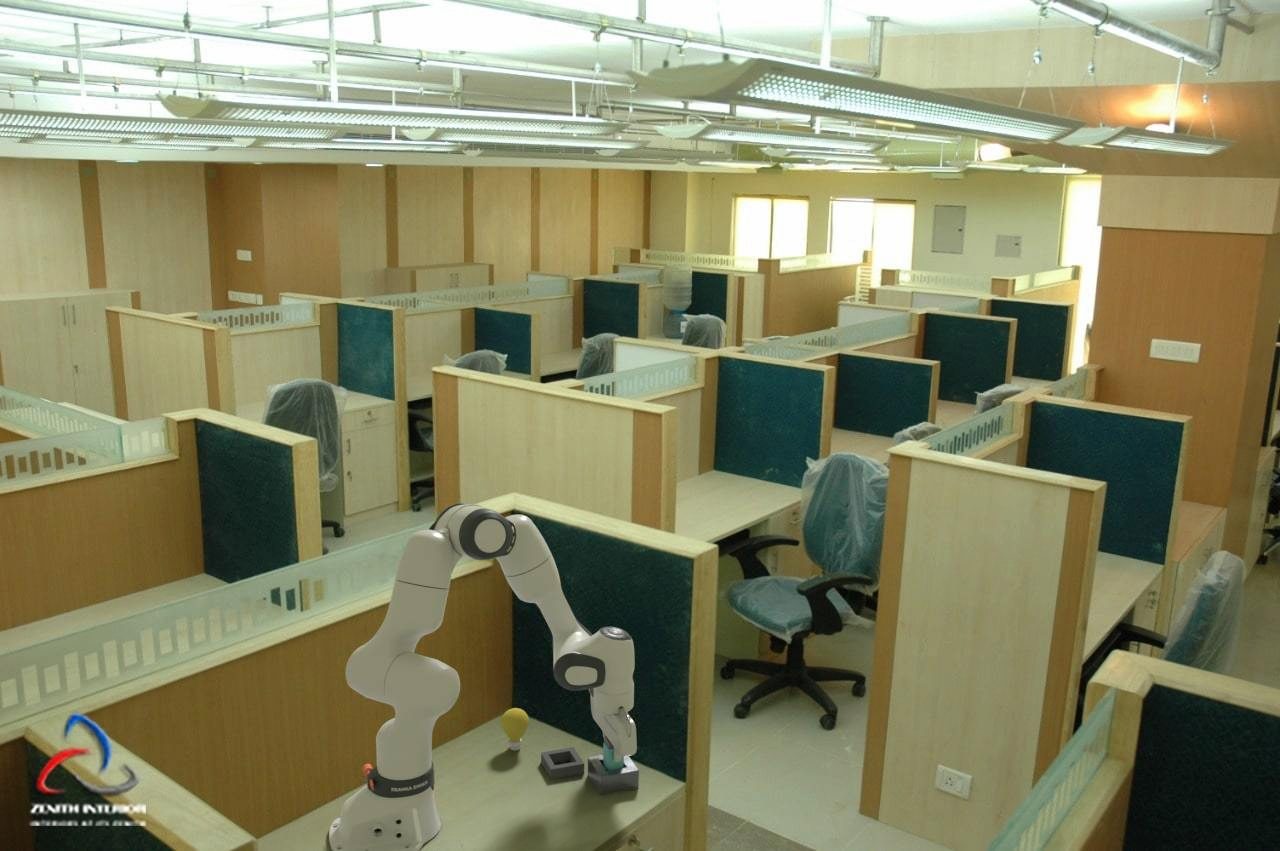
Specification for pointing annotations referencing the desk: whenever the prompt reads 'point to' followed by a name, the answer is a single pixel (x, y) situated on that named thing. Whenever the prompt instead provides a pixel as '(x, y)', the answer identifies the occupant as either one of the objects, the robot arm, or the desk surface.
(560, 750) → the frame
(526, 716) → the light bulb
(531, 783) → the desk surface
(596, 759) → the port
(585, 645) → the robot arm
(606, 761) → the plug
